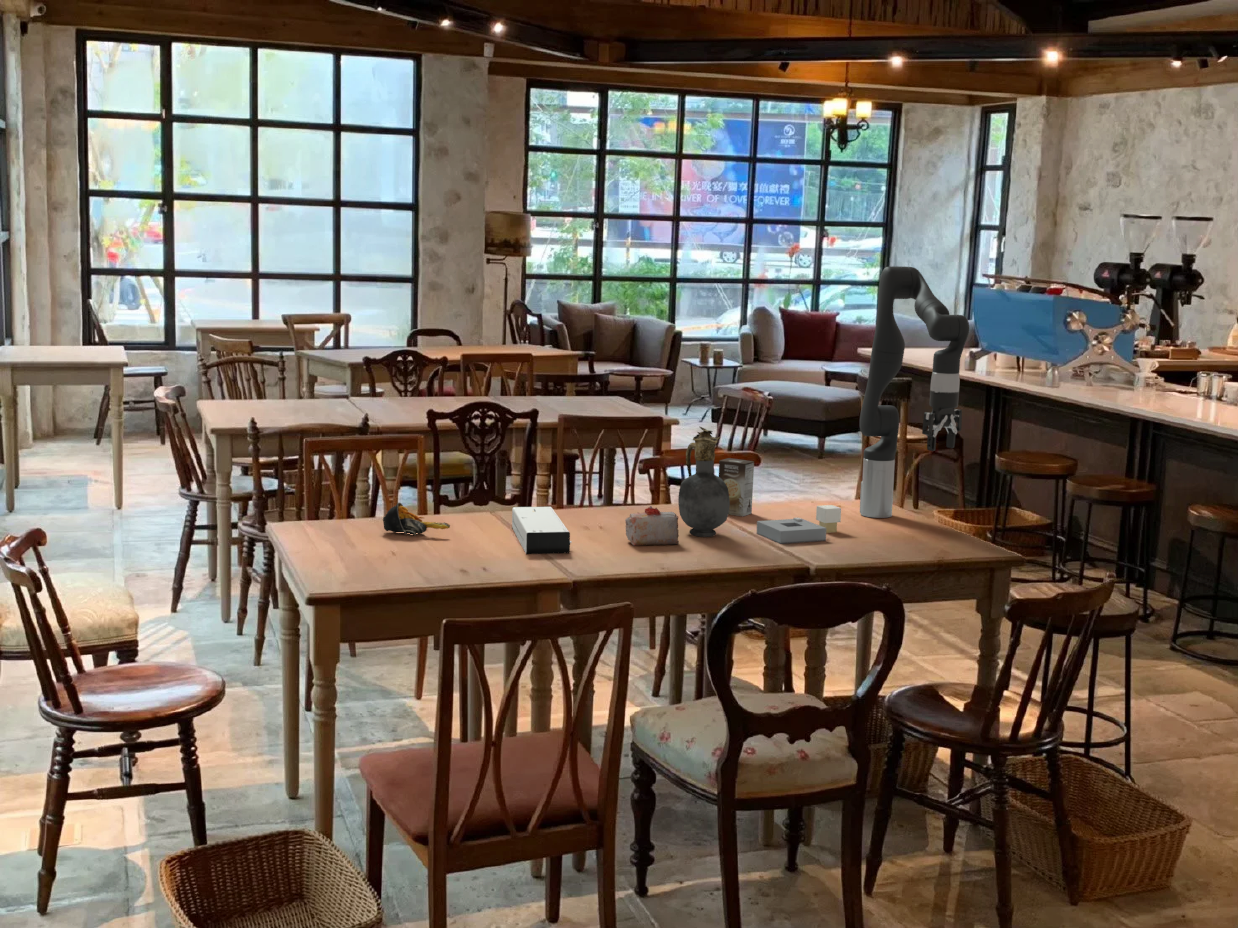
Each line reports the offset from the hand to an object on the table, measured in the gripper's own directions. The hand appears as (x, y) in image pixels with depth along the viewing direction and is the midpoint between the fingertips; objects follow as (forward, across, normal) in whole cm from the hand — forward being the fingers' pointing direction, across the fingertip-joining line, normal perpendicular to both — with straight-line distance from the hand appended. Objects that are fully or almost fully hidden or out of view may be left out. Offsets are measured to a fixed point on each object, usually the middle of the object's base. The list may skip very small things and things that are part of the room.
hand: (940, 449), depth 359 cm
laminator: (+27, +85, -65) cm, 111 cm away
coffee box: (+27, +16, -61) cm, 69 cm away
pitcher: (+26, +44, -47) cm, 69 cm away
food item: (+26, +64, -45) cm, 82 cm away
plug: (+26, +13, -27) cm, 40 cm away
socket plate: (+26, +27, -28) cm, 47 cm away
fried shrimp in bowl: (+27, +109, -91) cm, 144 cm away
